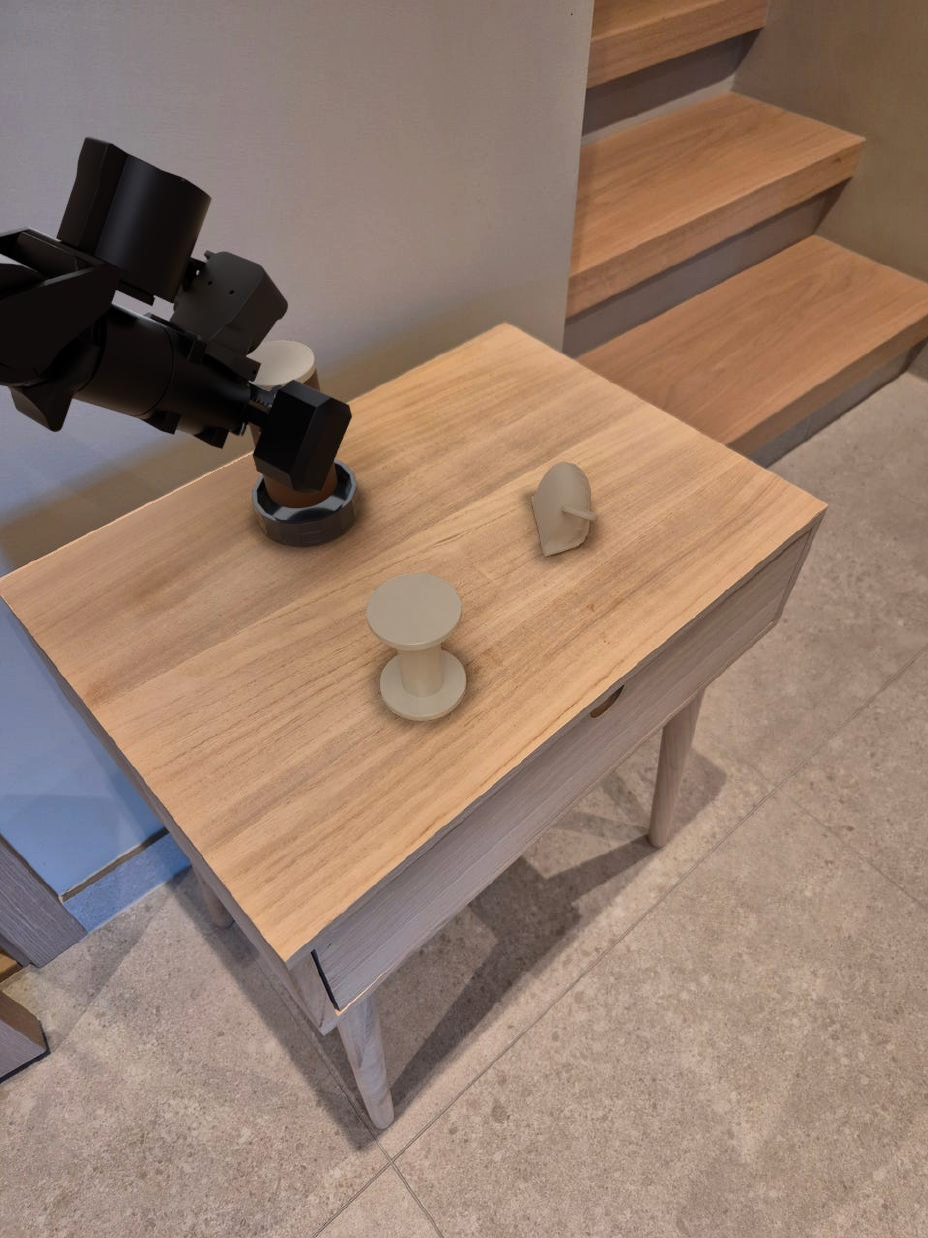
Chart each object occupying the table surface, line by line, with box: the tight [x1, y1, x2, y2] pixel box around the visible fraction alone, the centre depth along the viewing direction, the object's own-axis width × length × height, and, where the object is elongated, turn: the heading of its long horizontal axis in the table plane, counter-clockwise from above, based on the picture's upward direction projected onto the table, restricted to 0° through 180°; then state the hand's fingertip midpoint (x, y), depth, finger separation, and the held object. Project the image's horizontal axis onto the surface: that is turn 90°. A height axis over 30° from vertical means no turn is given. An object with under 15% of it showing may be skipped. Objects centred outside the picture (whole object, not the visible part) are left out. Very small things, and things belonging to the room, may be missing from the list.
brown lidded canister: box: [246, 339, 337, 509], centre depth 62 cm, size 6×6×11 cm
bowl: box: [251, 458, 361, 548], centre depth 68 cm, size 8×8×2 cm
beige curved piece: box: [530, 461, 599, 558], centre depth 64 cm, size 4×8×5 cm, turn 4°
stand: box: [365, 572, 467, 722], centre depth 54 cm, size 6×6×8 cm
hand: (304, 428), depth 63 cm, fingers closed on brown lidded canister, 5 cm apart
